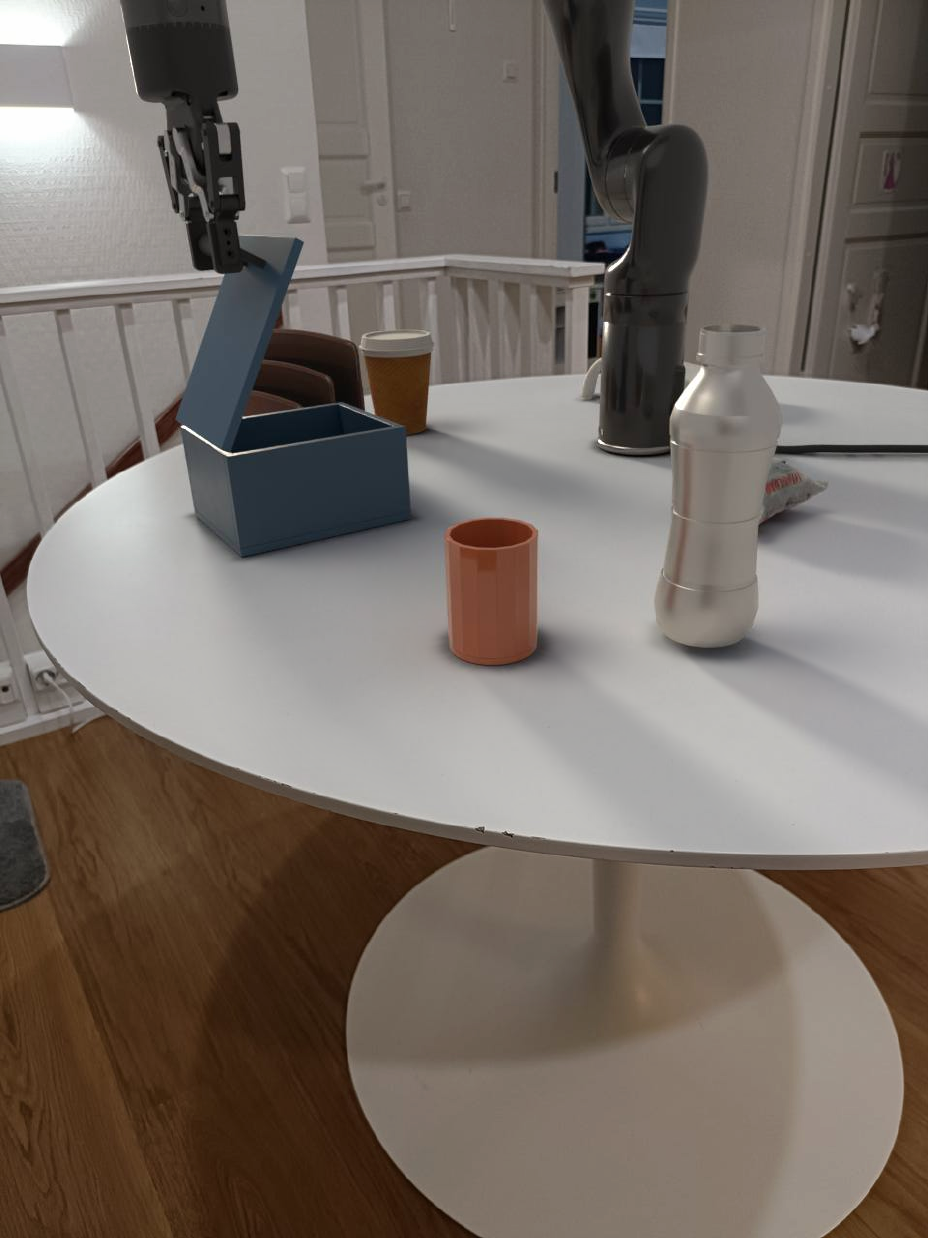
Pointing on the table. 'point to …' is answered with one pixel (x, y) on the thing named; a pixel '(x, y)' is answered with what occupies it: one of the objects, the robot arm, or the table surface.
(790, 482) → the packaged food
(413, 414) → the disposable coffee cup
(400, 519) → the dark blue rectangular box
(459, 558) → the cup
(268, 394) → the letter holder
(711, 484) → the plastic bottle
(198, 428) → the lid
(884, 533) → the table surface
